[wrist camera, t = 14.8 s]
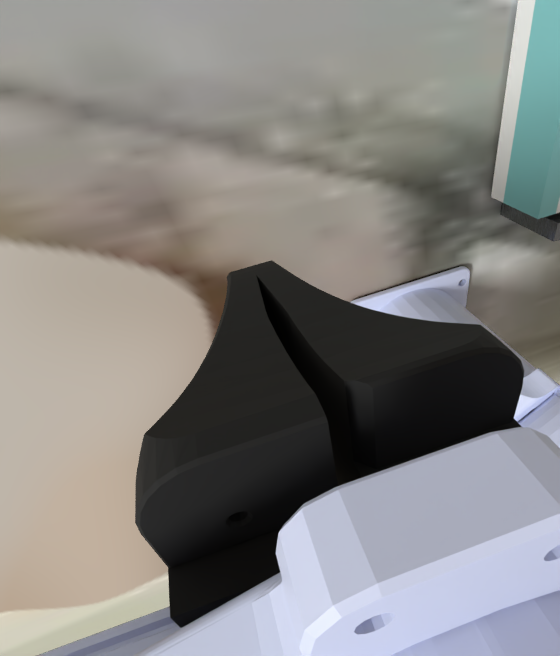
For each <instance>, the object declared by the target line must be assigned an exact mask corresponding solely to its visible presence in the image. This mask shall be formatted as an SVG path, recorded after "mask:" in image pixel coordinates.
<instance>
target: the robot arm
mask: <svg viewBox="0 0 560 656" xmlns="http://www.w3.org/2000/svg"><path fill="white" fill-rule="evenodd" d="M469 278H470V270H469V269H468V268H466V267H464V266H461V267H458V268H454V269H451V270H448V271H445V272H442V273H438V274H435V275H432V276H429V277H426V278H422V279H419V280H416V281H413V282H410V283H407V284H403V285H400V286H397V287H394V288H391V289H387V290H384V291H381V292H378V293H375V294H371V295H368V296H365V297H362V298H359V299H355V300H353V301H351V302H347V301H344V300H342V299H339V298H337V297H335V296H332V295H330V294H328V293H326V292H324V291H322V290H319V289H317V288H316V287H314V286H312V285H310V284H308V283H306V282H305V281H303V280H301V279H300V278H298V277H296V276H295V275H293V274H292V273H290V272H288V271H287V270H285V269H284V268H282V267H281V266H279V265H278V264H276V263H275V262H273V261H268V262H265V263H261V264H258V265H254V266H251V267H247V268H244V269H240V270H237V271H233V272H230V273H229V275H228V276H227V280H228V286H227V295H226V300H225V305H224V310H223V314H222V317H221V320H220V323H219V326H218V329H217V332H216V335H215V337H214V340H213V342H212V345H211V347H210V349H209V351H208V353H207V355H206V357H205V359H204V361H203V363H202V364H201V366H200V368H199V370H198V371H197V373H196V374H195V376H194V378H193V379H192V381H191V382H190V384H189V385H188V386H187V387H186V389H185V390H184V392H183V393H182V394H181V395H180V397H179V398H178V399H177V400H176V402H175V403H174V404H173V405H172V406H171V407H170V408H169V409H168V411H167V412H166V413H165V414H164V415H163V416H162V417H161V418H160V419H159V420H158V421H157V422H156V423H155V424H154V425H153V426H152V427H151V428H150V429H149V430H148V431H147V432H146V433H145V435H144V438H143V442H142V447H141V451H140V457H139V463H138V468H137V475H136V514H135V517H136V518H135V519H136V520H135V523H136V525H137V527H138V529H139V531H140V533H141V535H142V536H143V537H144V538H145V540H146V541H147V542H148V543H149V544H150V546H151V547H152V548H153V549H154V550H155V552H156V553H157V554H158V555H159V557H160V558H161V559H162V560H163V562H164V563H165V564H166V565H167V566H168V574H169V598H170V607H167V608H164V609H161V610H159V611H156V612H153V613H151V614H148V615H145V616H143V617H140V618H137V619H134V620H132V621H129V622H126V623H124V624H121V625H118V626H115V627H113V628H110V629H107V630H105V631H102V632H99V633H96V634H94V635H91V636H88V637H86V638H83V639H80V640H77V641H75V642H72V643H69V644H67V645H64V646H61V647H59V648H56V649H53V650H50V651H48V652H45V653H42V654H40V655H37V656H560V385H559V384H557V383H556V382H555V381H554V380H553V379H552V378H550V377H549V376H548V375H547V374H546V373H545V372H543V371H542V370H541V369H539V368H538V369H536V368H535V367H534V366H532V365H531V364H530V363H529V362H528V361H527V360H525V359H524V358H523V357H522V356H521V355H520V354H518V353H517V352H516V351H515V350H514V349H513V348H511V347H510V346H509V345H508V344H507V343H506V342H504V341H503V340H502V339H501V338H500V337H499V336H497V335H496V334H495V333H494V332H493V331H492V330H490V329H489V328H488V327H487V326H486V325H485V324H483V323H482V322H481V321H480V320H479V319H478V318H476V317H475V316H474V315H473V314H472V313H471V312H469V311H468V310H467V309H466V303H467V295H468V286H469ZM461 280H462V281H461ZM460 281H461V282H460ZM459 282H460V283H459Z"/></svg>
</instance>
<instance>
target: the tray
mask: <svg viewBox="0 0 560 656" xmlns="http://www.w3.org/2000/svg"><path fill="white" fill-rule="evenodd" d="M491 197H492V198H494V199H496V200H498V201H500V202H503V203H505V204H507V205H509V206H511V207H513V208H515V209H517V210H519V211H522V212H524V213H526V214H528V215H530V216H532V217H534V218H536V219H540V218H543V217H546V216H549V215H553V214H556V213H559V212H560V0H518V6H517V13H516V20H515V27H514V35H513V42H512V49H511V56H510V63H509V70H508V78H507V85H506V92H505V99H504V106H503V114H502V121H501V128H500V135H499V142H498V150H497V157H496V164H495V171H494V178H493V186H492V193H491Z"/></svg>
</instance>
